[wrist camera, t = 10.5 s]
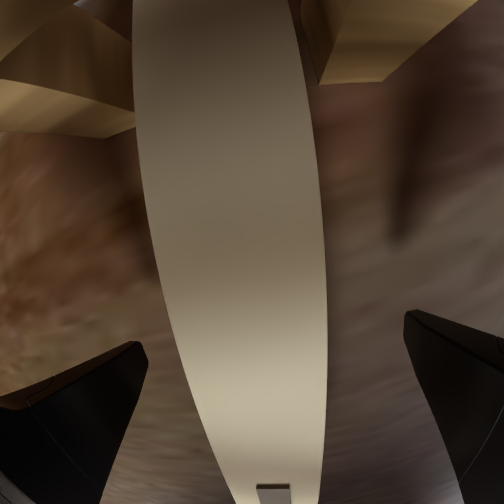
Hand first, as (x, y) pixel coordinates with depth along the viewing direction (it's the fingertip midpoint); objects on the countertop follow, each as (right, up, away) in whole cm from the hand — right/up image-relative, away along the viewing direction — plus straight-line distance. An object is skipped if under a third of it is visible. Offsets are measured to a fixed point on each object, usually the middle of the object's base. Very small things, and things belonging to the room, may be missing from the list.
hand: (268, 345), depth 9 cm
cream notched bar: (0, +4, +2) cm, 4 cm away
